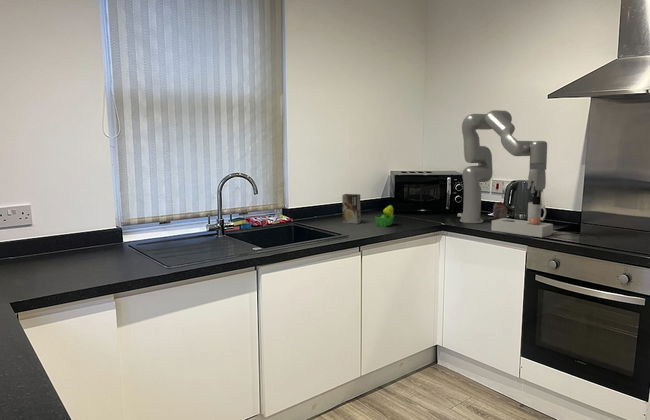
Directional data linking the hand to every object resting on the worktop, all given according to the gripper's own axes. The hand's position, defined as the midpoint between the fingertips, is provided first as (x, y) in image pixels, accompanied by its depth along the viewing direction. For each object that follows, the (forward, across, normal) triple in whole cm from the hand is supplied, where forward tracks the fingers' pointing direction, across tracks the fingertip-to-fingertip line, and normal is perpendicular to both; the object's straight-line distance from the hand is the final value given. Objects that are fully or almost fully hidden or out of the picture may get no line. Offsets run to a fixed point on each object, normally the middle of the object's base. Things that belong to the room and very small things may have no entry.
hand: (536, 204), depth 240 cm
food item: (+14, -32, -36) cm, 51 cm away
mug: (+15, -26, -11) cm, 32 cm away
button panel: (+15, 0, -7) cm, 16 cm away
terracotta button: (+12, 0, -1) cm, 12 cm away
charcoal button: (+14, 0, -14) cm, 20 cm away
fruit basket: (+14, +33, -68) cm, 77 cm away
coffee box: (+13, +40, -87) cm, 97 cm away
